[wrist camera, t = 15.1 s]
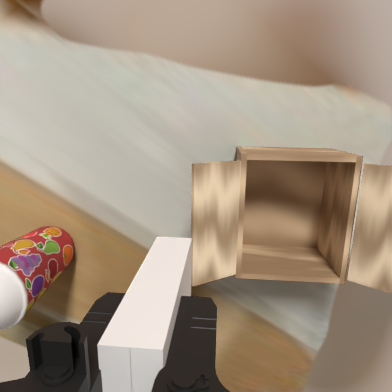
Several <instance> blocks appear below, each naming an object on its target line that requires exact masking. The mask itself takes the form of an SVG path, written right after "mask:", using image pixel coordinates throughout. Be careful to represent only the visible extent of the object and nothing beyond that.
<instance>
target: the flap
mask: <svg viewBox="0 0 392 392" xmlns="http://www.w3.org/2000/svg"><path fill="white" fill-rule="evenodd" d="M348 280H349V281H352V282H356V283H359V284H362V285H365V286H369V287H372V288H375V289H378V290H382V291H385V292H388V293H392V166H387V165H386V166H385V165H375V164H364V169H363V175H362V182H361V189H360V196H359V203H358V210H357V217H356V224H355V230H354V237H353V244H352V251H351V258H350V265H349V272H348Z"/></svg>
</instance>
